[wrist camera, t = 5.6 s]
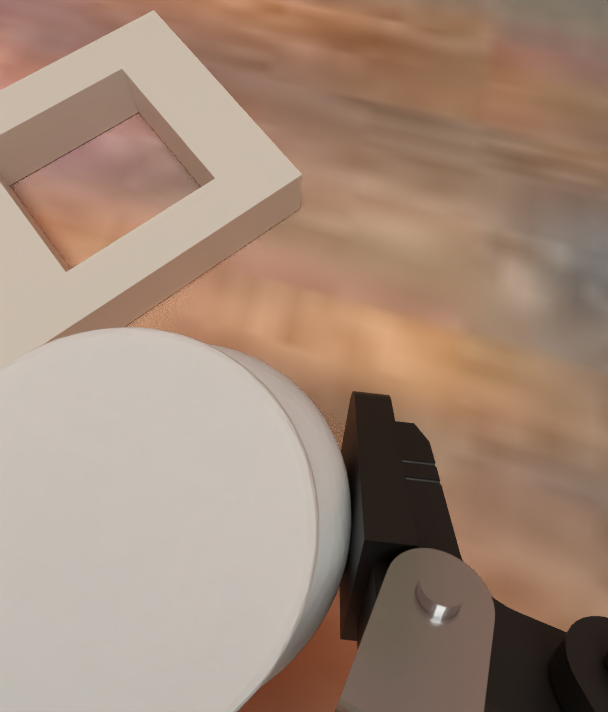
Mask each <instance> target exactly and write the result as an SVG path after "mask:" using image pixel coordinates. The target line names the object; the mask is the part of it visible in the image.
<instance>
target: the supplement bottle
mask: <svg viewBox="0 0 608 712" xmlns="http://www.w3.org/2000/svg"><path fill="white" fill-rule="evenodd" d="M351 526H352V523H351V497H350V488H349V482H348V476H347V470H346V467H345V464H344V460H343V457H342V453H341V451H340V448H339V446H338V444H337V441H336V439H335V437H334V434H333V433H332V431H331V429H330V427H329V425H328V424H327V422H326V420H325V419H324V417H323V416H322V414H321V412H320V411H319V410H318V409H317V407H316V406H315V405H314V403H313V402H312V401H311V400H310V398H309V397H308V396H307V395H306V394H305V393H304V392H303V391H302V390H301V389H300V388H299V387H298V386H297V385H296V384H295V383H293V382H292V381H291V380H290V379H288V378H287V377H286V376H284V375H283V374H282V373H280V372H279V371H277V370H276V369H274V368H273V367H271V366H269V365H268V364H266V363H264V362H262V361H261V360H259V359H257V358H255V357H252V356H250V355H248V354H245V353H242V352H240V351H237V350H233V349H230V348H226V347H222V346H217V345H211V344H206V343H204V342H201V341H199V340H196V339H193V338H190V337H187V336H184V335H181V334H177V333H172V332H167V331H162V330H158V329H150V328H139V327H118V328H107V329H98V330H92V331H87V332H81V333H77V334H73V335H70V336H66V337H62V338H59V339H56V340H53V341H51V342H48V343H46V344H43V345H41V346H38V347H36V348H34V349H32V350H31V351H29V352H27V353H25V354H23V355H21V356H19V357H18V358H16V359H14V360H12V361H11V362H9V363H7V364H5V365H4V366H2V367H1V368H0V712H237V711H238V710H239V709H240V708H241V707H242V706H243V705H244V704H245V703H246V702H247V701H248V700H249V699H250V698H251V697H252V696H253V695H254V694H255V692H256V691H257V690H258V689H259V688H260V687H261V686H263V685H264V684H266V683H267V682H268V681H270V680H271V679H272V678H273V677H275V676H276V675H277V674H278V673H280V672H281V671H282V670H283V669H284V668H285V667H286V666H287V665H288V664H289V663H290V662H291V661H292V660H293V659H294V658H295V657H296V656H297V655H298V654H299V653H300V651H301V650H302V649H303V648H304V647H305V645H306V644H307V643H308V642H309V640H310V639H311V638H312V637H313V635H314V634H315V632H316V630H317V629H318V627H319V626H320V624H321V622H322V621H323V619H324V617H325V615H326V614H327V612H328V610H329V608H330V606H331V604H332V602H333V600H334V598H335V596H336V593H337V590H338V587H339V585H340V582H341V579H342V576H343V573H344V569H345V565H346V562H347V557H348V551H349V545H350V536H351Z"/></svg>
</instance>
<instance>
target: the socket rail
mask: <svg viewBox="0 0 608 712" xmlns="http://www.w3.org/2000/svg"><path fill="white" fill-rule="evenodd" d="M138 112H139V113H140V115H141V116H142V117H143V118H144V119H145V121H146V122H147V123H148V124H149V125H150V127H151V128H152V129H153V130H154V131H155V133H156V134H157V135H158V136H159V137H160V138H161V140H162V141H163V142H164V143H165V144H166V146H167V147H168V148H169V149H170V150H171V152H172V153H173V154H174V155H175V156H176V158H177V159H178V160H179V161H180V162H181V164H182V165H183V166H184V167H185V168H186V169H187V171H188V172H189V173H190V174H191V175H192V177H193V178H194V179H195V180H196V181H197V183H198V184H199V185H200V186H201V188H199V189H198V190H196V191H194V192H193V193H191V194H190V195H188V196H186V197H185V198H183V199H182V200H180V201H178V202H177V203H175V204H174V205H172V206H171V207H169V208H167V209H166V210H164V211H163V212H161V213H159V214H158V215H156V216H155V217H153V218H151V219H150V220H148V221H147V222H145V223H143V224H142V225H140V226H139V227H137V228H135V229H134V230H132V231H131V232H129V233H127V234H126V235H124V236H123V237H121V238H120V239H118V240H116V241H115V242H113V243H112V244H110V245H108V246H107V247H105V248H104V249H102V250H100V251H99V252H97V253H96V254H94V255H92V256H91V257H89V258H88V259H86V260H84V261H83V262H81V263H80V264H78V265H77V266H75V267H73V268H72V269H70V268H69V266H68V265H67V264H66V262H65V261H64V260H63V258H62V257H61V255H60V254H59V253H58V251H57V250H56V249H55V247H54V246H53V245H52V243H51V242H50V240H49V239H48V238H47V236H46V235H45V234H44V232H43V231H42V230H41V228H40V227H39V225H38V224H37V223H36V221H35V220H34V219H33V217H32V216H31V215H30V213H29V212H28V210H27V209H26V208H25V206H24V205H23V204H22V202H21V201H20V199H19V198H18V197H17V195H16V194H15V193H14V191H13V190H12V189H11V187H10V185H12V184H13V183H15V182H17V181H19V180H21V179H22V178H24V177H26V176H28V175H29V174H31V173H33V172H35V171H36V170H38V169H40V168H42V167H43V166H45V165H47V164H49V163H50V162H52V161H54V160H56V159H57V158H59V157H61V156H63V155H64V154H66V153H68V152H70V151H71V150H73V149H75V148H77V147H78V146H80V145H82V144H84V143H85V142H87V141H89V140H91V139H93V138H94V137H96V136H98V135H100V134H101V133H103V132H105V131H107V130H108V129H110V128H112V127H114V126H115V125H117V124H119V123H121V122H122V121H124V120H126V119H128V118H129V117H131V116H133V115H135V114H136V113H138ZM301 181H302V174H301V173H300V172H299V171H298V170H297V169H296V167H295V166H294V165H293V164H292V163H291V162H290V161H289V160H288V159H287V157H286V156H285V155H284V154H283V153H282V152H281V151H280V150H279V149H278V147H277V146H276V145H275V144H274V143H273V142H272V141H271V140H270V139H269V138H268V136H267V135H266V134H265V133H264V132H263V131H262V130H261V129H260V128H259V126H258V125H257V124H256V123H255V122H254V121H253V120H252V119H251V118H250V116H249V115H248V114H247V113H246V112H245V111H244V110H243V109H242V108H241V106H240V105H239V104H238V103H237V102H236V101H235V100H234V99H233V98H232V96H231V95H230V94H229V93H228V92H227V91H226V90H225V89H224V88H223V86H222V85H221V84H220V83H219V82H218V81H217V80H216V79H215V78H214V77H213V75H212V74H211V73H210V72H209V71H208V70H207V69H206V68H205V67H204V65H203V64H202V63H201V62H200V61H199V60H198V59H197V58H196V57H195V55H194V54H193V53H192V52H191V51H190V50H189V49H188V48H187V47H186V45H185V44H184V43H183V42H182V41H181V40H180V39H179V38H178V37H177V35H176V34H175V33H174V32H173V31H172V30H171V29H170V28H169V27H168V25H167V24H166V23H165V22H164V21H163V20H162V19H161V18H160V17H159V15H158V14H157V13H156V12H155V11H154V10H153V11H151V12H149V13H148V14H146V15H144V16H142V17H140V18H138V19H136V20H134V21H132V22H130V23H128V24H126V25H125V26H123V27H121V28H119V29H117V30H115V31H113V32H111V33H109V34H107V35H105V36H103V37H102V38H100V39H98V40H96V41H94V42H92V43H90V44H88V45H86V46H84V47H82V48H80V49H79V50H77V51H75V52H73V53H71V54H69V55H67V56H65V57H63V58H61V59H59V60H57V61H56V62H54V63H52V64H50V65H48V66H46V67H44V68H42V69H40V70H38V71H36V72H34V73H33V74H31V75H29V76H27V77H25V78H23V79H21V80H19V81H17V82H15V83H13V84H11V85H10V86H8V87H6V88H4V89H2V90H0V368H1V367H2V366H4V365H5V364H7V363H9V362H11V361H12V360H14V359H16V358H18V357H19V356H21V355H23V354H25V353H27V352H29V351H31V350H32V349H34V348H36V347H38V346H41V345H43V344H46V343H48V342H51V341H53V340H56V339H59V338H62V337H66V336H70V335H73V334H77V333H81V332H87V331H92V330H98V329H107V328H118V327H125V326H126V325H128V324H129V323H131V322H132V321H134V320H135V319H137V318H138V317H140V316H141V315H143V314H144V313H146V312H147V311H149V310H150V309H152V308H153V307H155V306H156V305H158V304H159V303H160V302H162V301H163V300H165V299H166V298H168V297H169V296H171V295H172V294H174V293H175V292H177V291H178V290H180V289H181V288H183V287H184V286H186V285H187V284H189V283H190V282H192V281H193V280H195V279H196V278H198V277H199V276H201V275H202V274H204V273H205V272H206V271H208V270H209V269H211V268H212V267H214V266H215V265H217V264H218V263H220V262H221V261H223V260H224V259H226V258H227V257H229V256H230V255H232V254H233V253H235V252H236V251H238V250H239V249H241V248H242V247H244V246H245V245H247V244H248V243H250V242H251V241H252V240H254V239H255V238H257V237H258V236H260V235H261V234H263V233H264V232H266V231H267V230H269V229H270V228H272V227H273V226H275V225H276V224H278V223H279V222H281V221H282V220H284V219H285V218H287V217H288V216H290V215H291V214H293V213H294V212H296V211H297V210H299V209H300V197H301Z"/></svg>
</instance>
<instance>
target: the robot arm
mask: <svg viewBox="0 0 608 712" xmlns="http://www.w3.org/2000/svg"><path fill="white" fill-rule="evenodd" d="M341 453H342V457H343V460H344V464H345V467H346V470H347V476H348V482H349V488H350V497H351V523H352V526H351V536H350V545H349V551H348V557H347V562H346V565H345V569H344V573H343V576H342V579H341V582H340V639H344V640H353V641H357V647H358V651H357V654H356V656H355V659H354V662H353V664H352V667H351V670H350V672H349V675H348V678H347V680H346V683H345V686H344V689H343V691H342V694H341V697H340V699H339V702H338V705H337V707H336V710H335V712H608V618H607V617H601V616H590V617H585V618H582V619H580V620H578V621H576V622H575V623H574V624H573V625H572V626H571V627H570V629H569V630H568V632H564V631H562V630H560V629H557V628H555V627H552V626H550V625H547V624H545V623H543V622H540V621H538V620H535V619H533V618H531V617H528V616H526V615H523V614H521V613H519V612H516V611H514V610H512V609H510V608H508V607H506V606H505V605H503V604H501V603H500V602H498V601H497V600H495V599H494V598H493V597H492V596H491V594H490V592H489V590H488V588H487V587H486V585H485V583H484V582H483V581H482V579H481V578H480V577H479V575H478V574H477V573H476V572H475V571H474V570H473V569H472V568H471V567H469V566H468V565H467V564H466V563H464V562H463V560H462V558H461V555H460V552H459V548H458V544H457V541H456V537H455V533H454V530H453V526H452V522H451V519H450V515H449V511H448V508H447V504H446V500H445V497H444V493H443V490H442V486H441V485H440V479H439V475H438V471H437V468H436V467H435V460H434V457H433V453H432V449H431V446H430V442H429V441H428V440H427V438H426V437H425V436H424V435H423V434H422V432H421V431H420V430H419V429H418V428H417V426H416V425H415V424H414V423H405V422H397V421H395V418H394V413H393V408H392V402H391V398H390V396H389V395H382V394H373V393H364V392H355V391H353V392H352V395H351V399H350V404H349V409H348V415H347V420H346V426H345V432H344V437H343V443H342V448H341Z"/></svg>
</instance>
